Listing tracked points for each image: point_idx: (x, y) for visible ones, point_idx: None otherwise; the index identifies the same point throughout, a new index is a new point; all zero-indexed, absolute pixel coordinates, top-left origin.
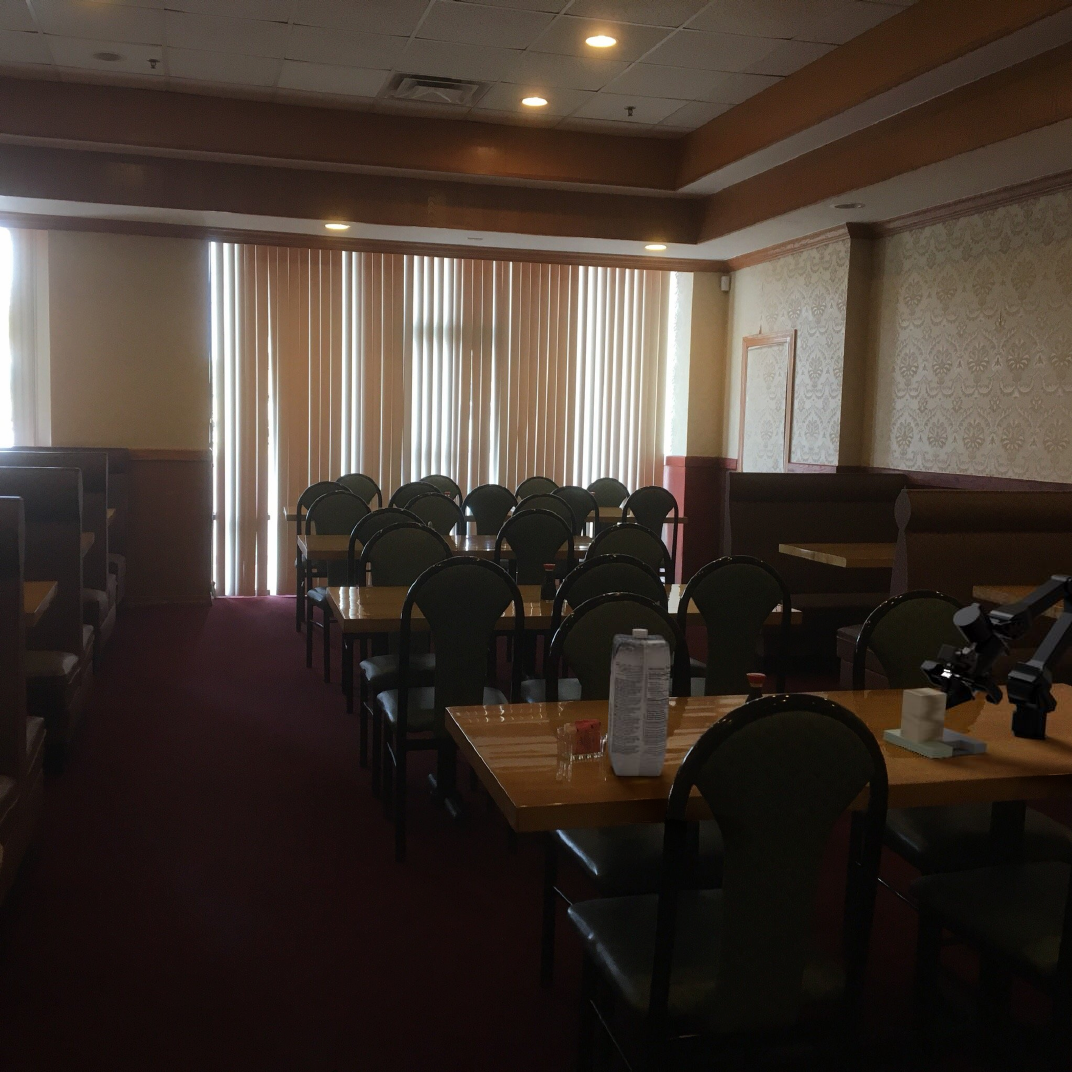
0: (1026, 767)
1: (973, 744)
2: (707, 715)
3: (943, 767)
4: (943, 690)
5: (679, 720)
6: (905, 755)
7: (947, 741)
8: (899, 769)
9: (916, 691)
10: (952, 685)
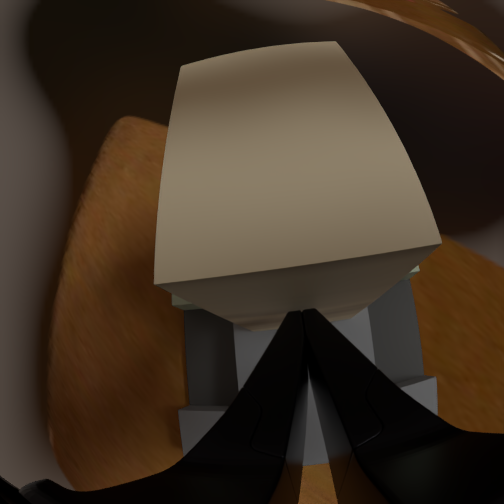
0: (82, 433)
1: (182, 410)
2: (466, 51)
3: (131, 224)
4: (371, 412)
5: (432, 26)
6: None
7: (234, 338)
8: (163, 132)
9: (297, 73)
10: (238, 496)
